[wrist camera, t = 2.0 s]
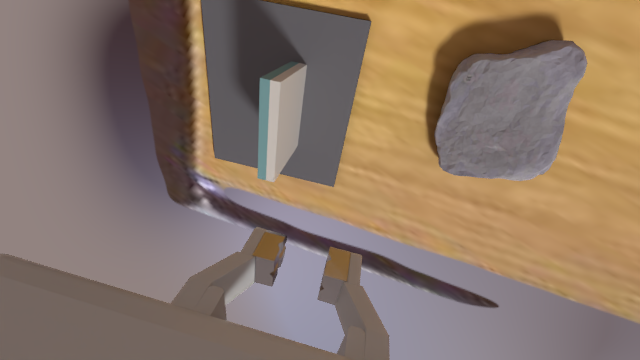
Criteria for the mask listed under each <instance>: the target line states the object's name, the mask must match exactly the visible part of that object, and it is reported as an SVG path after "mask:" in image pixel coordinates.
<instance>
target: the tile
mask: <svg viewBox="0 0 640 360" xmlns="http://www.w3.org/2000/svg"><path fill="white" fill-rule="evenodd" d="M306 70H307V64H302V63H297V62H292V61H291V62H289V63H287V64H285V65H283V66H282V67H280V68H278V69H276V70H274V71H272V72H270V73H268V74H266V75H264V76H262V77H260V92H259V140H258V178H259V179H263V180H267V181H271V182H275V180H276V179H277V177H278V175H279V174H280V172H281V171H282V169H283V168H284V166H285V165H286V163H287V162H288V160H289V158H290V157H291V155H292V154H293V152H294V151H295V149H296V148H297V146H298V138H299V130H300V121H301V113H302V104H303V95H304V87H305V78H306Z"/></svg>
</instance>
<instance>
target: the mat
mask: <svg viewBox="0 0 640 360" xmlns="http://www.w3.org/2000/svg"><path fill="white" fill-rule="evenodd" d="M201 4H202V16H203V27H204V39H205V50H206V62H207V73H208V85H209V96H210V108H211V119H212V131H213V142H214V154H215V158H218V159H222V160H226V161H230V162H234V163H238V164H242V165H246V166H251V167H255V168H258V140H259V92H260V77H262V76H264V75H266V74H268V73H270V72H272V71H274V70H276V69H278V68H280V67H282V66H283V65H285V64H287V63H289V62H291V61H292V62H297V63H302V64H307V70H306V78H305V87H304V95H303V104H302V113H301V121H300V130H299V138H298V146H297V148H296V149H295V151H294V152H293V154H292V155H291V157H290V158H289V160H288V162H287V163H286V165H285V166H284V168H283V169H282V171H281V172H280V174H283V175H287V176H291V177H295V178H299V179H303V180H307V181H311V182H315V183H320V184H324V185H328V186H332V187H334V184H335V179H336V175H337V171H338V166H339V162H340V157H341V153H342V149H343V144H344V140H345V135H346V131H347V126H348V122H349V118H350V113H351V109H352V104H353V100H354V96H355V91H356V87H357V82H358V78H359V74H360V69H361V65H362V60H363V56H364V51H365V47H366V43H367V38H368V34H369V29H370V25H371V21H367V20H362V19H356V18H351V17H346V16H340V15H335V14H330V13H325V12H319V11H314V10H309V9H303V8H298V7H293V6H288V5H282V4H277V3H272V2H266V1H261V0H201Z"/></svg>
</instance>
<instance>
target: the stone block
mask: <svg viewBox="0 0 640 360" xmlns="http://www.w3.org/2000/svg"><path fill="white" fill-rule="evenodd" d="M586 66H587V60H586V56H585V53H584V51H583V50H582V49H581V48H580V47H579V46H577V45H576V44H575V43H574V42H573V41H557V40H551V41H547V42H543V43H540V44H537V45H534V46H530V47H528V48H525V49H520V50H517V51H514V52H513V53H510V54H492V53H487V54H474V55H471V56H470V57H468V58H466V59H464V60H463V61H462V62H461V63H460V64H459V65H458V67H457V69H456V71H455V72H454V73H453V75H452V77H451V80H450V83H449V87H448V91H447V95H446V98H445V102H444V104H443V106H442V109H441V115H440V117H439V120H438V121H437V126H436V130H435V135H434V136H435V142H436V145H437V152H438V155H439V166H440V167H441V168H442V169H443V170H444V171H446V172H448V173H450V174H453V175H458V176H470V177H478V178H489V179H492V178H502V179H508V180H517V181H522V180H530V179H532V178H535V177H536V176H537V175H539V174H541V175H542V174H544V173H545V172H546V171H547V170H549V168H550V167H551V165H552V163H553V161H554V160H555V158H556V155H557V152H558V149H559V145H560V142H561V139H562V134H563V130H564V123H565V116H566V111H567V108H568V104H569V102H570V100H571V98H572V96H573V92H574V89H575V87H576V86H577V84H578V83H579V81H580V80H581V78H582V77H583V76H584V73H585V70H586Z"/></svg>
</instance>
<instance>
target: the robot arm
mask: <svg viewBox="0 0 640 360" xmlns="http://www.w3.org/2000/svg"><path fill="white" fill-rule="evenodd" d="M286 240H287V236H286V235H283V234H279V233H276V232H273V231H269V230H265V229H262V228H259V227H256V228H255V229H254V231H253V232H252V234H251V236H250V237H249V239H248V241H247V242H246V244H245V246H244V247H243V249H242V251H241V252H236V253H234V254H232V255H230V256H228V257H227V258H225V259H223V260H221V261H219V262H218V263H216V264H214V265H212V266H210V267H208V268H206V269H205V270H203V271H201V272H199V273H197V274H195V275H193V276H192V277H190V278H189V279H188V281H187V282H186V283H185V285H184V286H183V287H182V289H181V290H180V292H179V293H178V294H177V296H176V297H175V298H174V300H173V301H172V303H171V304H170V303H166V302H163V301H159V300H156V299H153V298H150V297H146V296H143V295H140V294H137V293H133V292H130V291H126V290H123V289H120V288H117V287H113V286H110V285H107V284H104V283H100V282H97V281H94V280H90V279H87V278H84V277H81V276H77V275H74V274H70V273H67V272H64V271H60V270H57V269H54V268H51V267H48V266H44V265H41V264H38V263H34V262H31V261H28V260H25V259H22V258H18V257H15V256H12V255H8V254H0V360H389V335H388V333H387V331H386V330H385V328H384V326H383V324H382V322H381V320H380V318H379V316H378V314H377V313H376V311H375V309H374V307H373V305H372V303H371V301H370V300H369V297H368V296H367V294H366V292H365V290H364V288H363V287H362V286H360V274H361V262H362V256H361V255H359V254H355V253H350V252H348V251H344V250H340V249H336V248H332V247H330V250H329V253H328V257H327V261H326V265H325V269H324V274H323V278H322V283H321V286H320V291H319V295H318V300H320V301H324V302H327V303H330V304H333V305H335V307H336V310H337V313H338V316H339V319H340V322H341V325H342V328H343V331H344V334H345V337H344V339H343V341H342V343H341V346H340V348H339V350H338V353H337V354H335V353H332V352H328V351H325V350H321V349H318V348H315V347H312V346H308V345H305V344H302V343H299V342H295V341H292V340H289V339H285V338H282V337H279V336H275V335H272V334H269V333H265V332H262V331H259V330H255V329H252V328H249V327H245V326H242V325H239V324H235V323H232V322H229V321H227V319H226V308H225V306H226V305H227V304H228V303H230V302H231V301H232V300H233V299H235V298H236V297H237V296H239V295H240V294H241V293H242V292H243V291H245V290H246V289H248V288H249V287H250V286H251V285H253V284H254V282H256V283H261V284H264V285H268V286H273V283H274V281H275V278H276V276H277V271H278V268H279V267H280V266H281V264H282V261H283V258H284V254H285V249H286V247H285V243H286Z"/></svg>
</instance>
